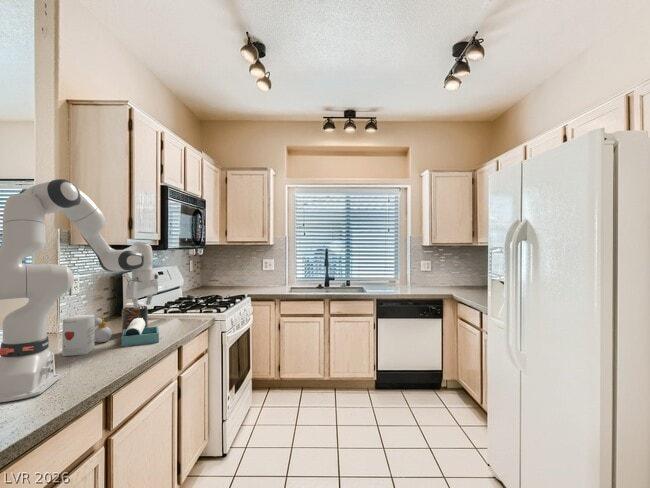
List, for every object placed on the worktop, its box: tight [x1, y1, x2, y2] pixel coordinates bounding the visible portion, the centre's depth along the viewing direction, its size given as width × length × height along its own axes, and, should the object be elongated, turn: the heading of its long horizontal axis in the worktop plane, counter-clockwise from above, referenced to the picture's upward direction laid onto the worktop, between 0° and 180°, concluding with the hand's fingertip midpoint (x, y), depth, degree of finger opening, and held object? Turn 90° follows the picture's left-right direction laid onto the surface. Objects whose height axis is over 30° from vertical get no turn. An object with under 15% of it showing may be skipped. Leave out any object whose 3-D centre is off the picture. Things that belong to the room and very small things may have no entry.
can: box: [125, 318, 145, 336], centre depth 165 cm, size 6×6×12 cm
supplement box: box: [61, 314, 95, 357], centre depth 147 cm, size 9×9×15 cm
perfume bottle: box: [94, 316, 113, 344], centre depth 162 cm, size 8×10×12 cm
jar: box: [121, 301, 149, 334], centre depth 180 cm, size 12×12×15 cm
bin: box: [121, 325, 160, 347], centre depth 165 cm, size 15×15×4 cm
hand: (142, 306), depth 165 cm, fingers open, 8 cm apart
